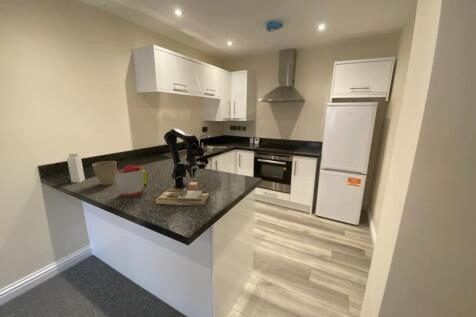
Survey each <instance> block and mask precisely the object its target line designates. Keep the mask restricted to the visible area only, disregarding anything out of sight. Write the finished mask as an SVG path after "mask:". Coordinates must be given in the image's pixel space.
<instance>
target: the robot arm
mask: <svg viewBox="0 0 476 317" xmlns="http://www.w3.org/2000/svg"><path fill="white" fill-rule="evenodd" d="M178 138H179V139H181V140H182V141H183V143H184V148H186V157H185V161H181V157H180V153H179V150H178V146H177V143H178ZM163 140H164V141H165V144H166V145H167V146H169V151H170V154H171V158H172V160H173V168H172V171H173V172H172V174H171V178H172V179H173V180H174V185H173V187H174V188H182V187H184V186H185V185H186V183H184V178H186V176H187V172H188V175H189V177H190V178H191V179H194V178H195V176H196V172H197V170H199V169H200V170H205V169H206V168H207V166H208V165H207V163H206V162H200V163H197V157H198V158H202V157H204V155H205V149H204V148H202V145H201V144H200V142H199V140H198V137H197V136H196V135H195V134H191V133H190V134H189V133H187V132H184V131H183V130H180V129H179V128H171V129H170V130H169V131H167V132H165V134H164V135H163Z"/></svg>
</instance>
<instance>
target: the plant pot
mask: <svg viewBox="0 0 476 317" xmlns="http://www.w3.org/2000/svg"><path fill="white" fill-rule="evenodd" d="M91 166H92V169H93V171H94V173H95V176H96V178H97V180H98V182H100V184H101V185H102V186H110V185H113V184H114V183H115V177H116V172H115V170H117V161H115V160H106V161H98V162H95V163H92V164H91Z"/></svg>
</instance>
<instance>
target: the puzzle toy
mask: <svg viewBox="0 0 476 317" xmlns="http://www.w3.org/2000/svg"><path fill="white" fill-rule="evenodd" d="M143 176H144V185H148V179H147V171H146V170H144V169H143Z"/></svg>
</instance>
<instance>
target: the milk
mask: <svg viewBox="0 0 476 317" xmlns="http://www.w3.org/2000/svg"><path fill="white" fill-rule="evenodd" d="M66 160H67V164H68V165H67V166H68V171H69V176H70V180H71V183H72V182H73V183H81V182H84V181H85V173H84V167H83V162H82V157H81V155H78V153H69V154H68V157H67V158H66ZM83 180H84V181H83Z"/></svg>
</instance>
